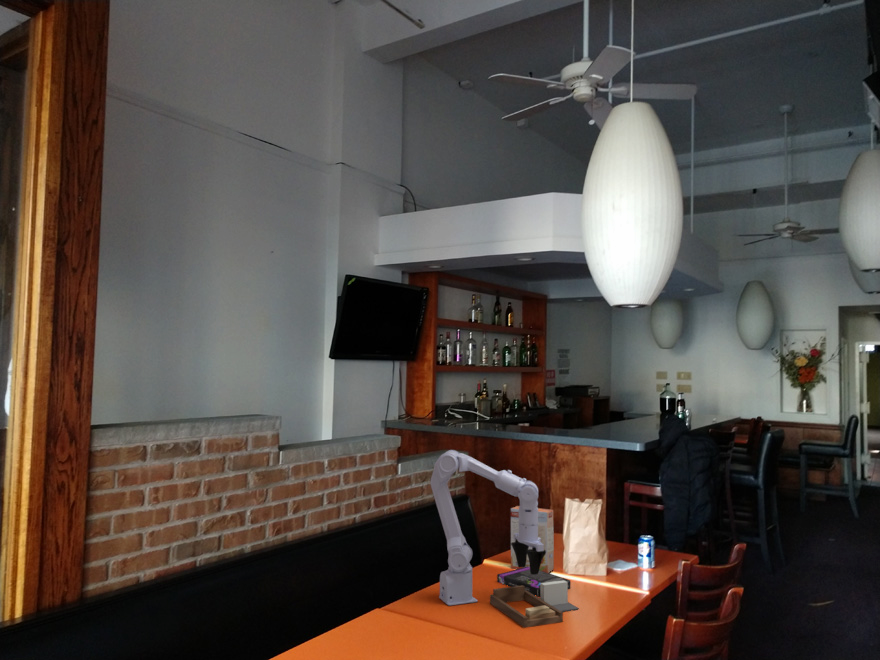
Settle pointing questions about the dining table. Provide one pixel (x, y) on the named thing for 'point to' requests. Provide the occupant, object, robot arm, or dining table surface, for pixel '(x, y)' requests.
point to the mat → (565, 607)
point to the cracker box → (543, 532)
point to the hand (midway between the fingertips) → (528, 570)
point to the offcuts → (538, 612)
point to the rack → (518, 594)
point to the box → (528, 579)
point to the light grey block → (554, 592)
